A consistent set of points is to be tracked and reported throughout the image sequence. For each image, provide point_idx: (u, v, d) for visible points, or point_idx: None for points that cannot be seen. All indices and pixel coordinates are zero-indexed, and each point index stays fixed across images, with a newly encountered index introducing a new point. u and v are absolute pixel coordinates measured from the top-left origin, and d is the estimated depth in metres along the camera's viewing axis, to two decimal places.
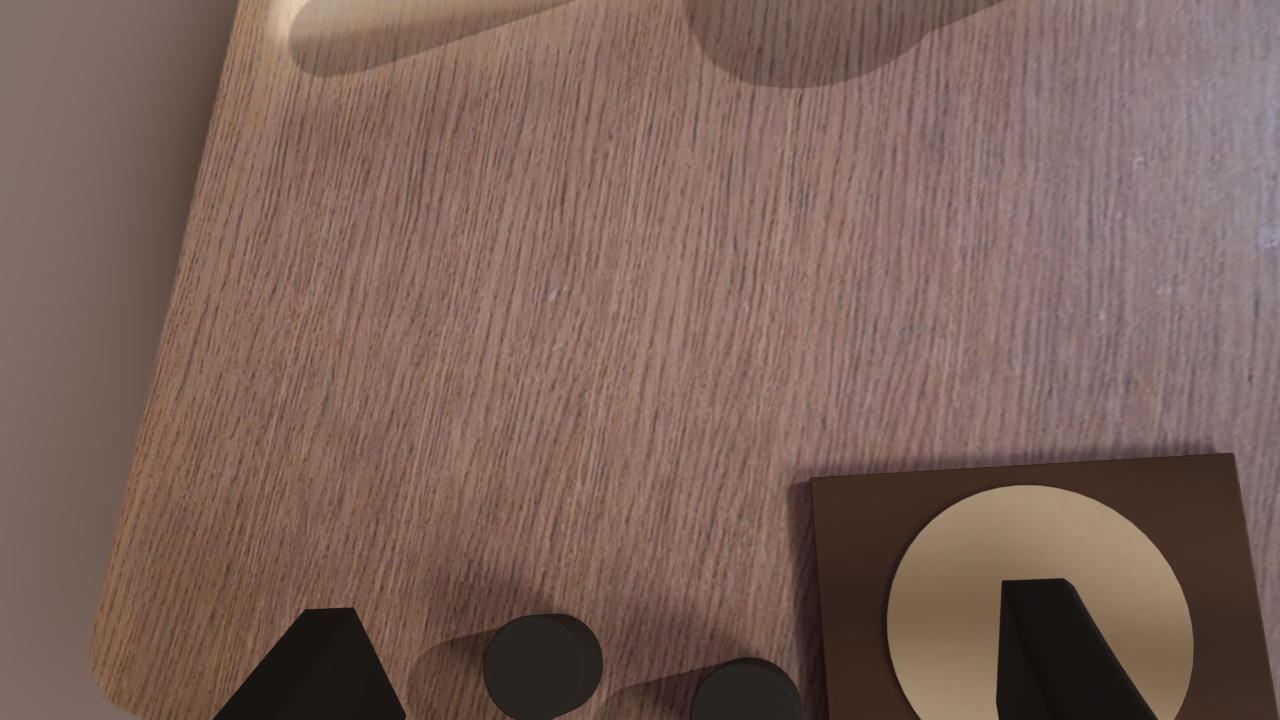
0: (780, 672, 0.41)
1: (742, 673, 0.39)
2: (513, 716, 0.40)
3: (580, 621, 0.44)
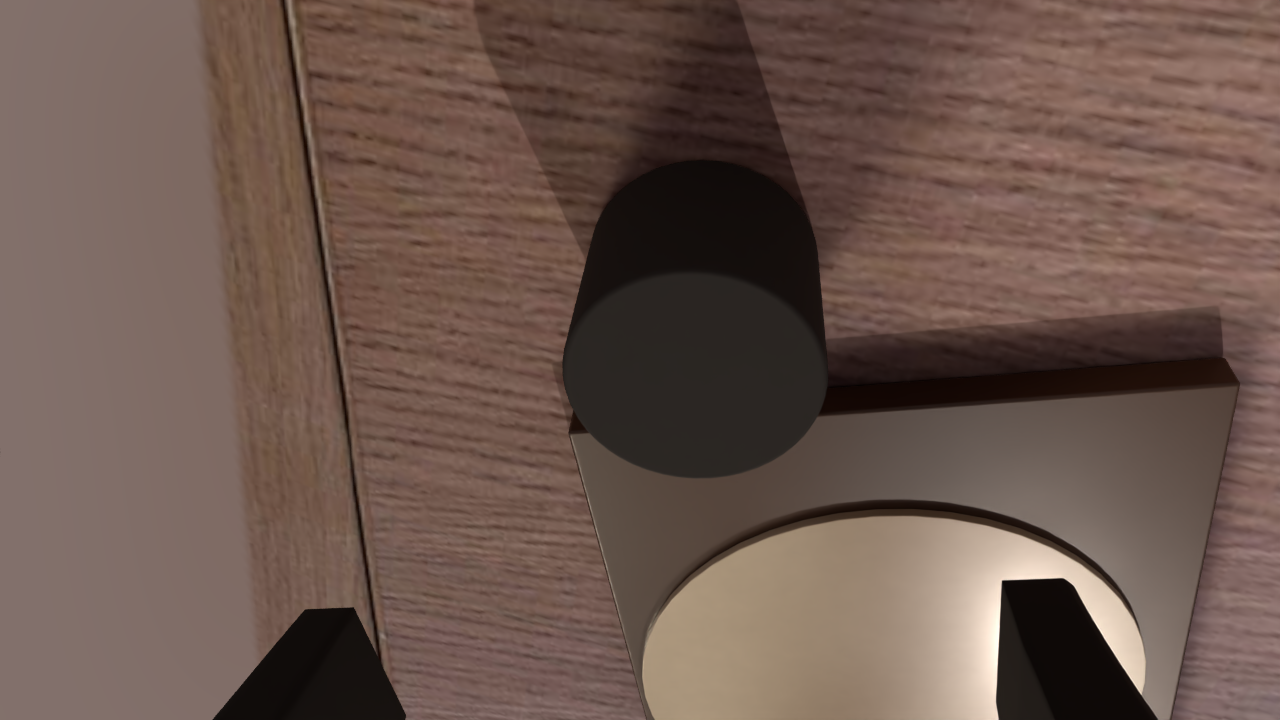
0: None
1: (800, 376, 0.16)
2: None
3: None
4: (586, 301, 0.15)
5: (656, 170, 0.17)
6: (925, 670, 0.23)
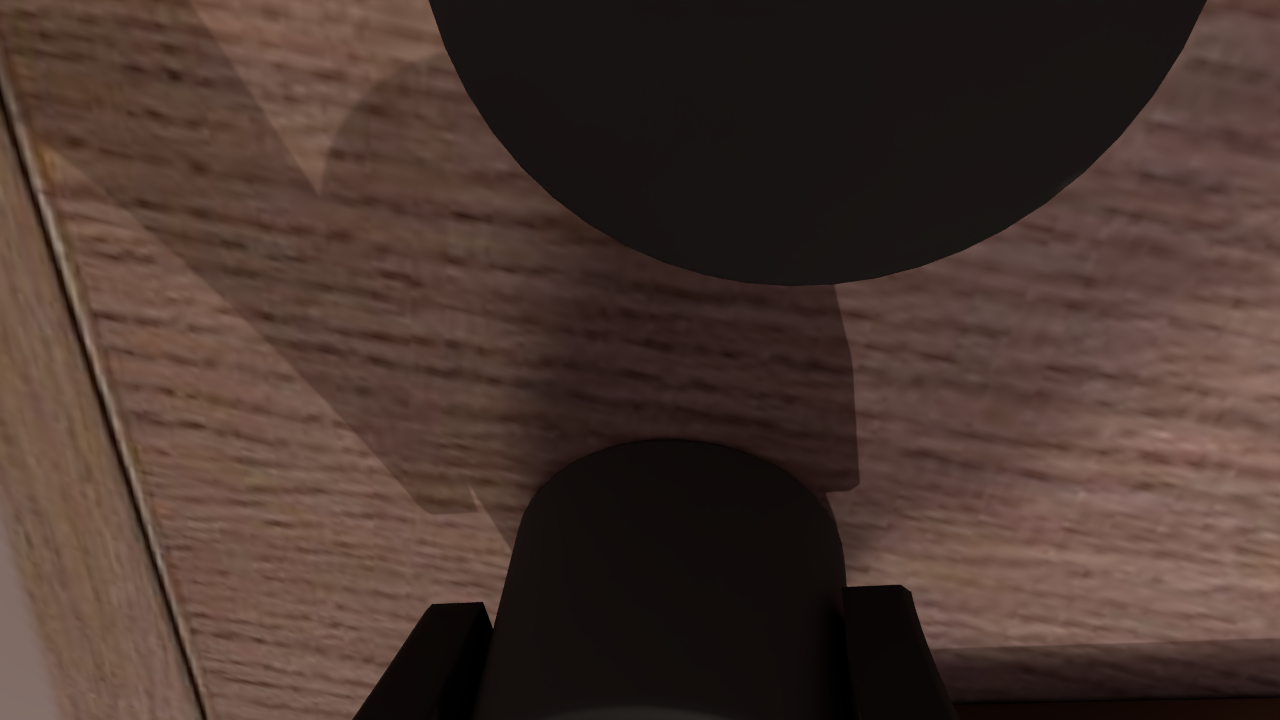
0: None
1: None
2: None
3: None
4: (487, 717, 0.10)
5: (608, 453, 0.12)
6: None
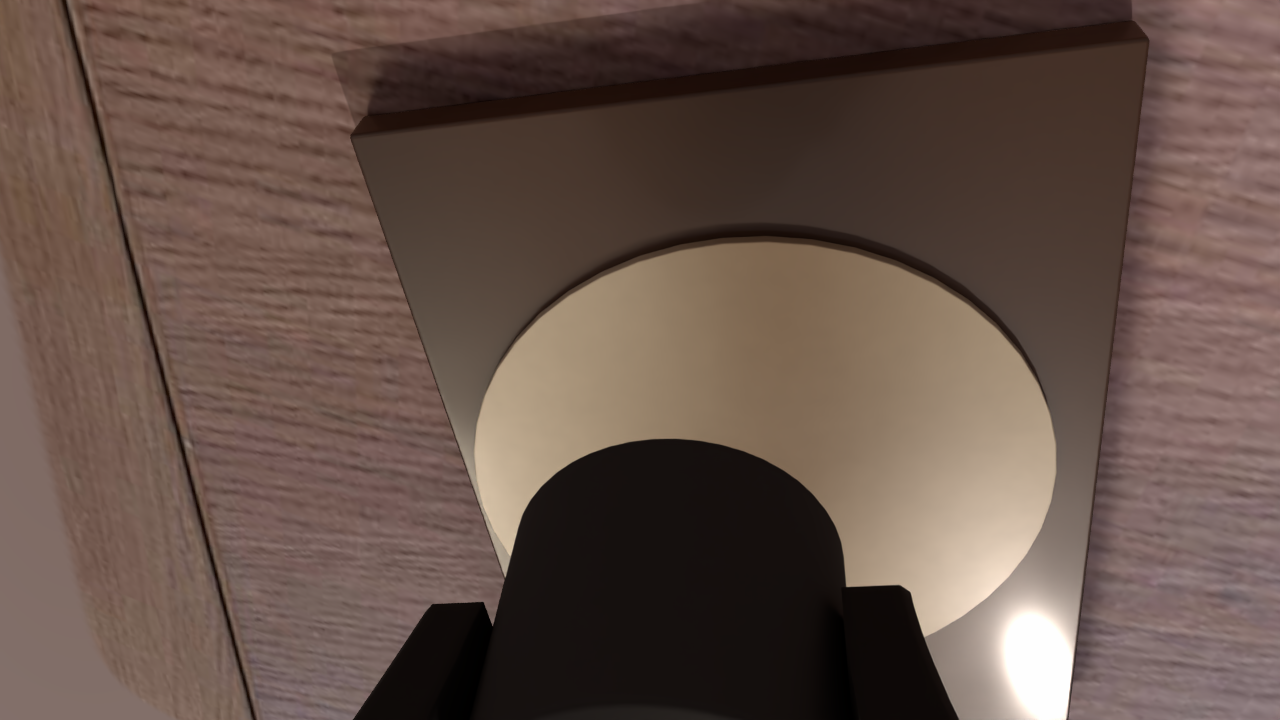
0: None
1: None
2: None
3: None
4: (486, 716, 0.10)
5: (607, 452, 0.12)
6: (800, 461, 0.20)
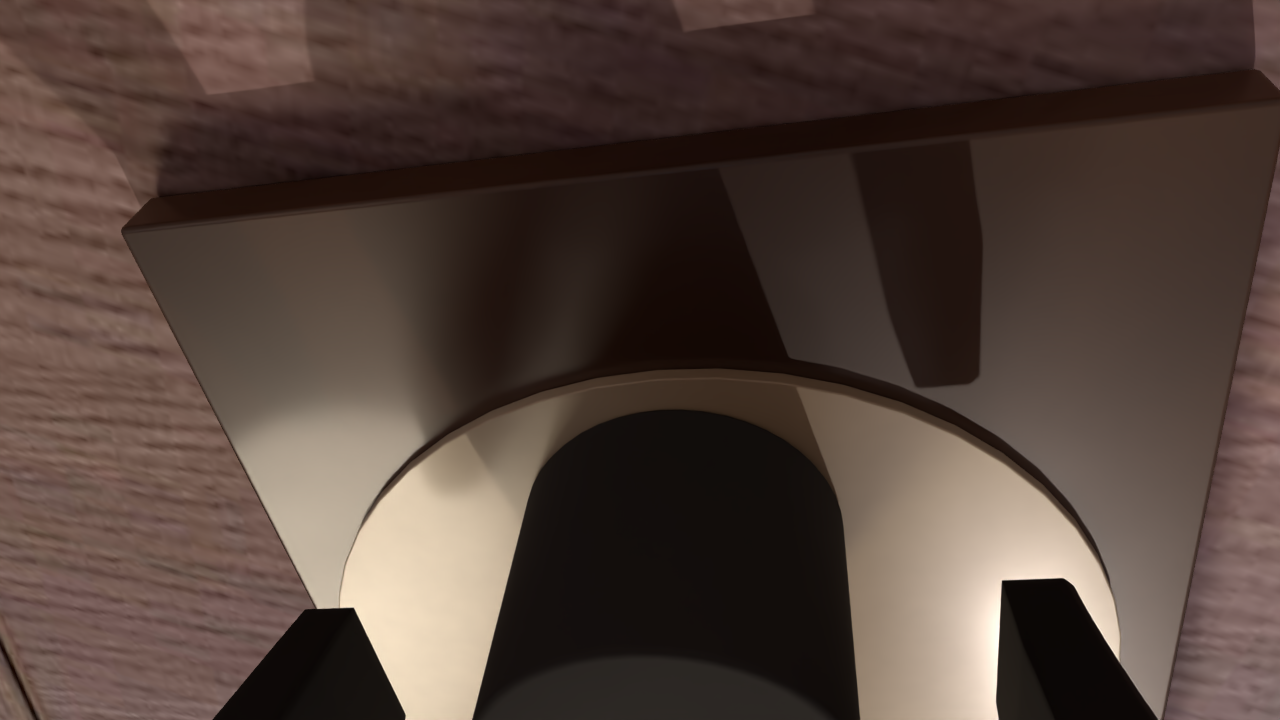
0: None
1: None
2: None
3: None
4: (500, 669, 0.10)
5: (615, 423, 0.12)
6: None
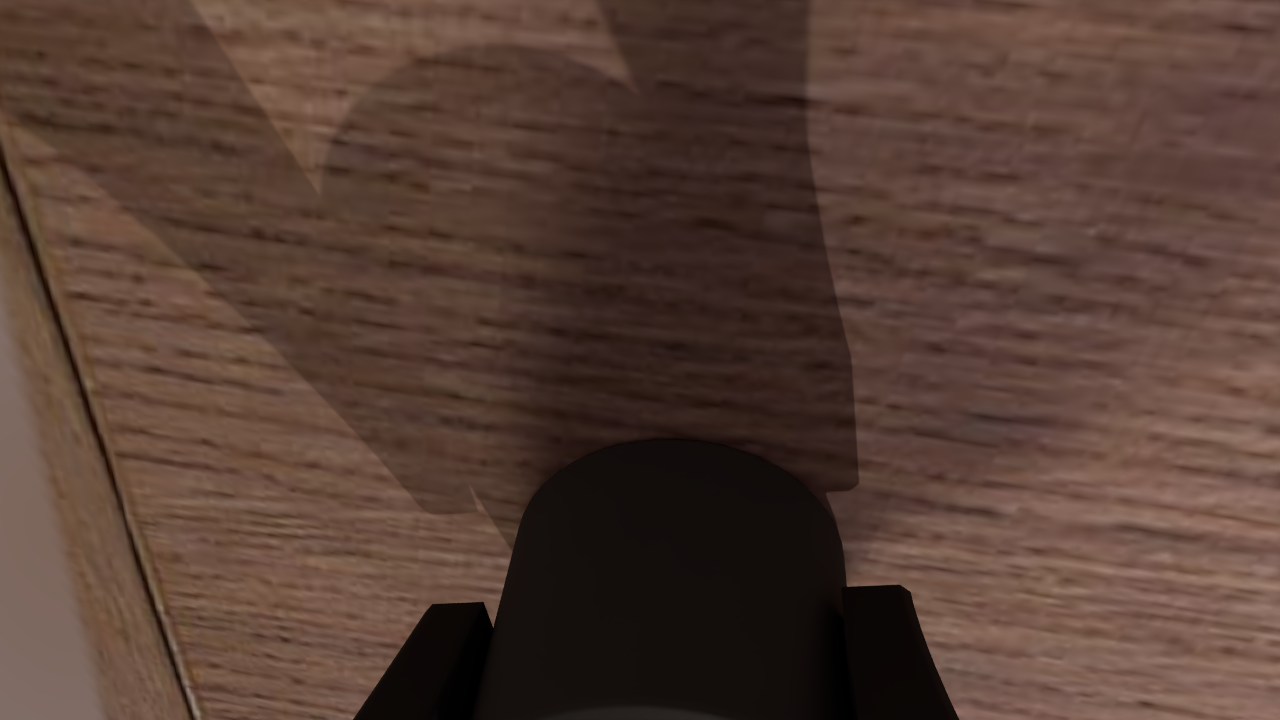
0: None
1: None
2: None
3: None
4: None
5: None
6: None
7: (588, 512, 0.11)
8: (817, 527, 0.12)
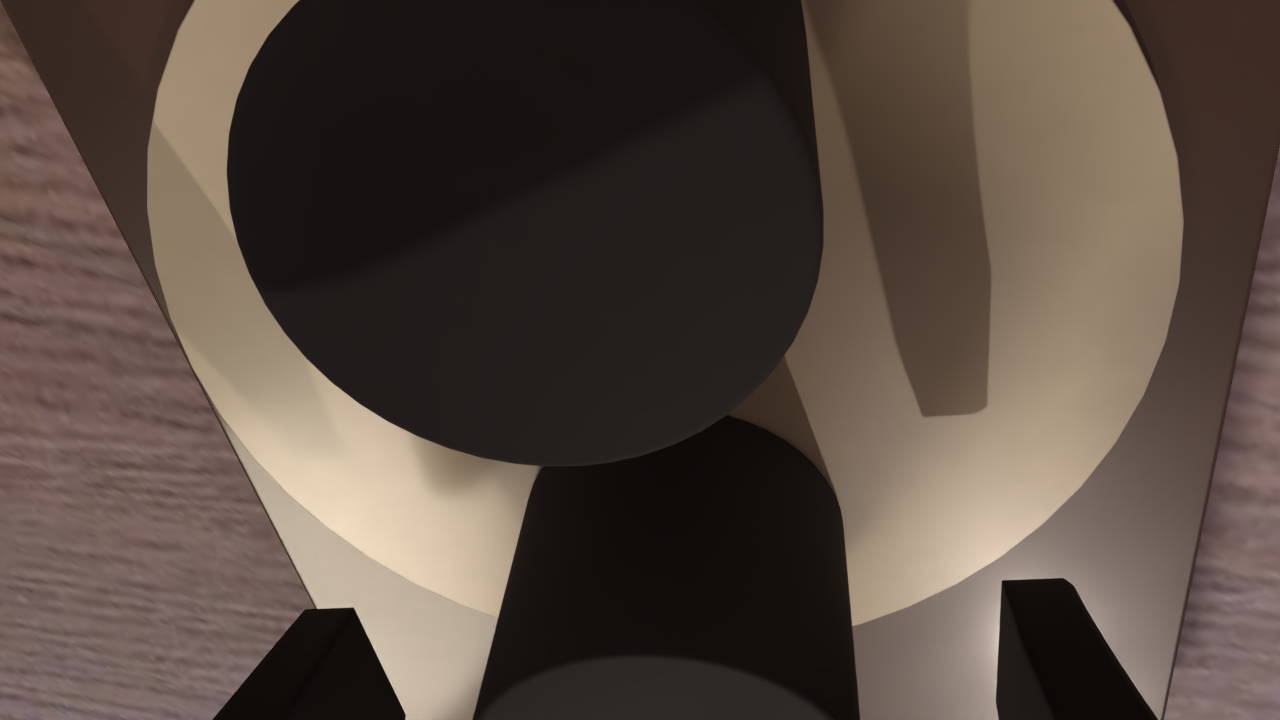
0: None
1: (760, 230, 0.07)
2: None
3: None
4: (263, 51, 0.07)
5: None
6: None
7: (595, 478, 0.12)
8: (817, 494, 0.12)
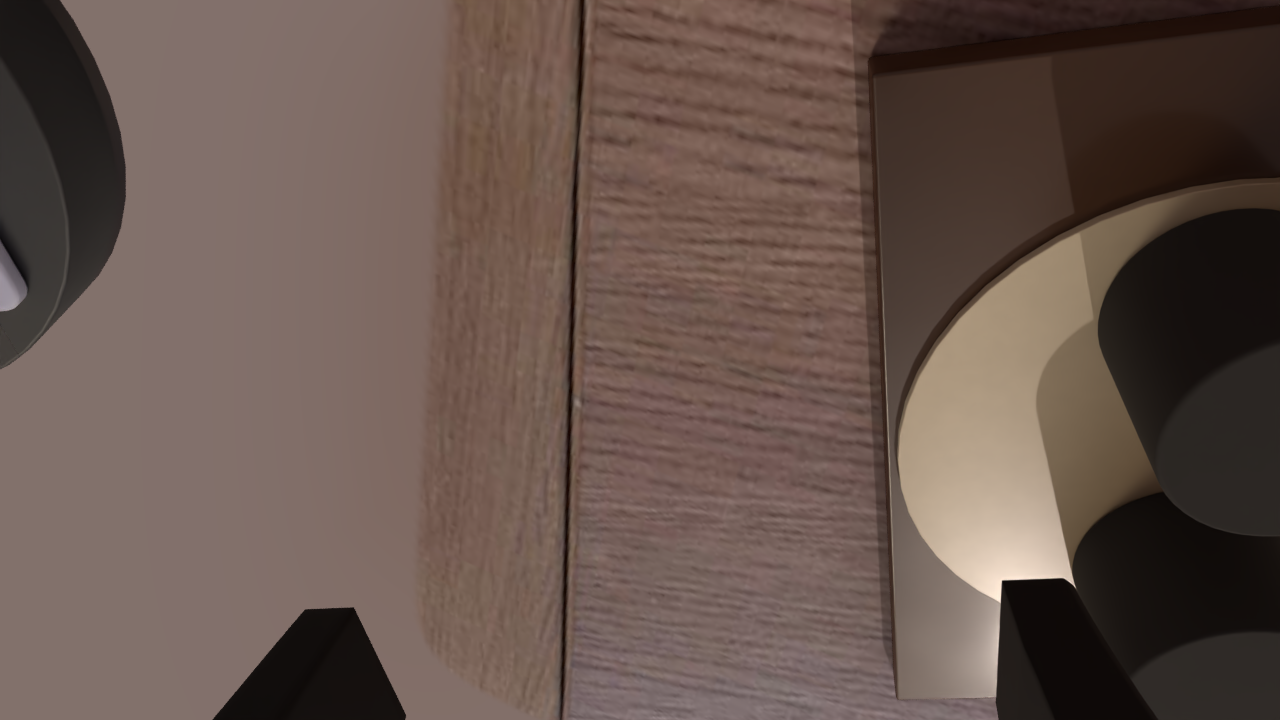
0: None
1: None
2: (1136, 678, 0.19)
3: None
4: (1206, 359, 0.15)
5: (1206, 218, 0.17)
6: None
7: (1167, 531, 0.20)
8: None
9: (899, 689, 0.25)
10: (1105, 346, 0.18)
